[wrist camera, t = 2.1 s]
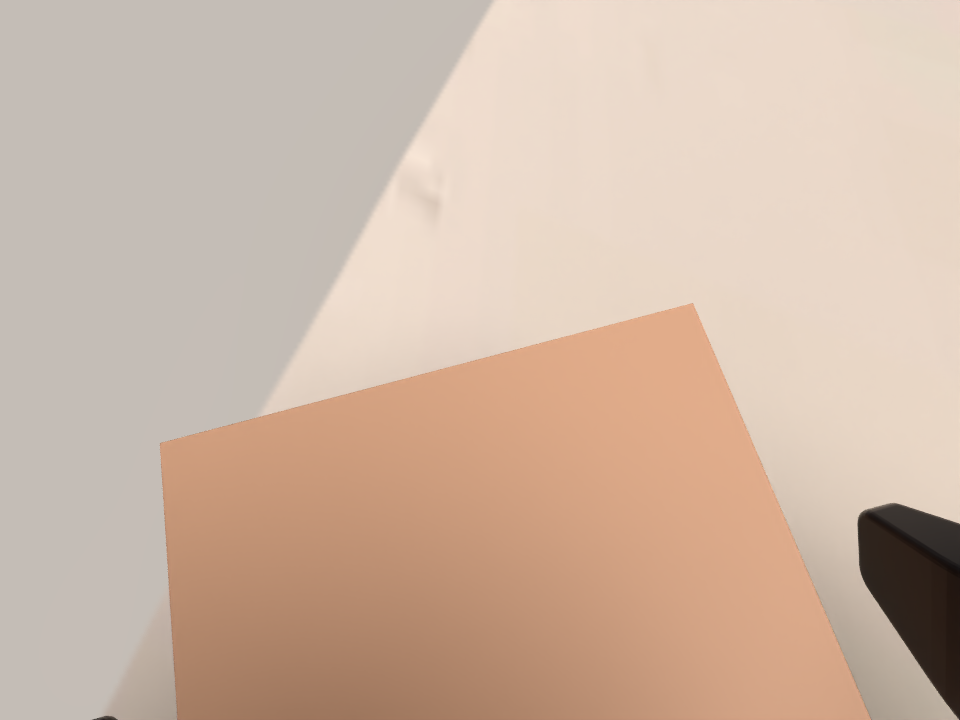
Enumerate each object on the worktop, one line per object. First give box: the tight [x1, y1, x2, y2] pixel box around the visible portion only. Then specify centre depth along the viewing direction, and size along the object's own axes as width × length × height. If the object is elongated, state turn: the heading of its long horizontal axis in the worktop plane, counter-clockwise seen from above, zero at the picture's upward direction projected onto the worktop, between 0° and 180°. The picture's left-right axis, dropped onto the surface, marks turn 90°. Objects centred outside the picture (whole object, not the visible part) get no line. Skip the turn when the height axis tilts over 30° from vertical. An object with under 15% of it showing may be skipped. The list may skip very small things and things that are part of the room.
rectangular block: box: [160, 303, 871, 720], centre depth 9 cm, size 5×6×4 cm
